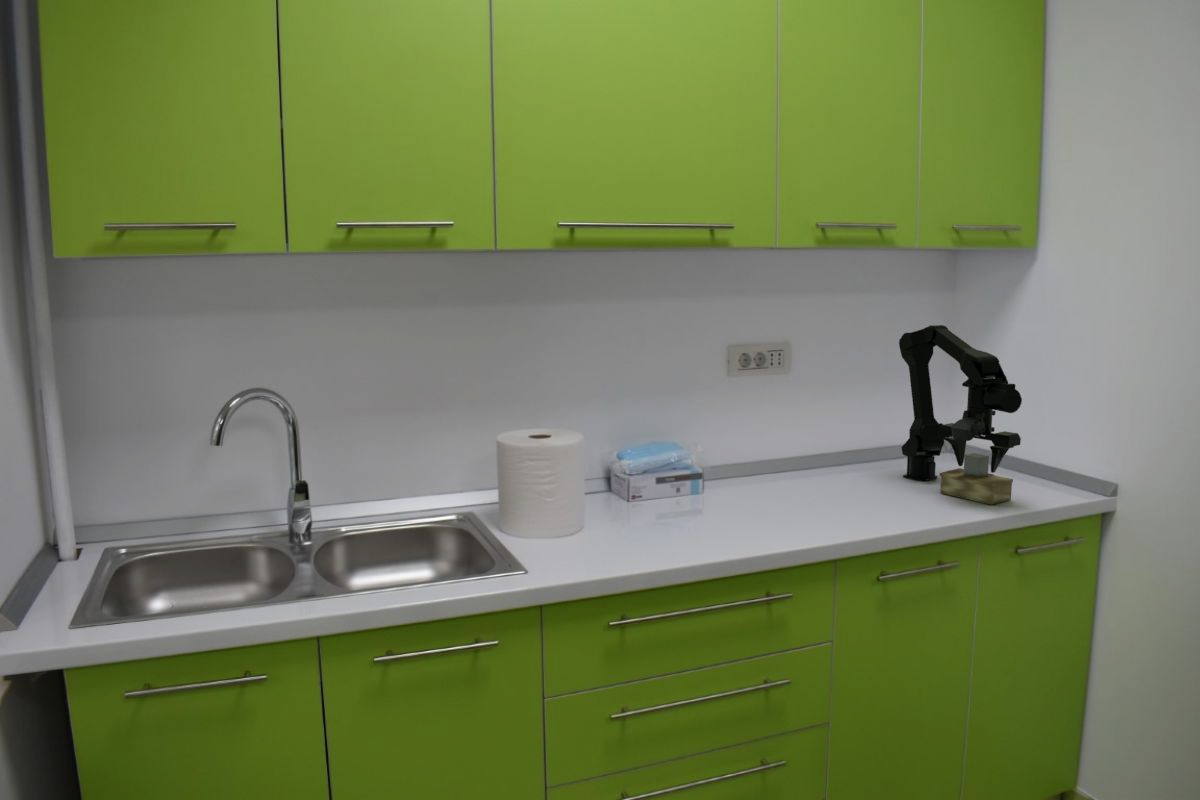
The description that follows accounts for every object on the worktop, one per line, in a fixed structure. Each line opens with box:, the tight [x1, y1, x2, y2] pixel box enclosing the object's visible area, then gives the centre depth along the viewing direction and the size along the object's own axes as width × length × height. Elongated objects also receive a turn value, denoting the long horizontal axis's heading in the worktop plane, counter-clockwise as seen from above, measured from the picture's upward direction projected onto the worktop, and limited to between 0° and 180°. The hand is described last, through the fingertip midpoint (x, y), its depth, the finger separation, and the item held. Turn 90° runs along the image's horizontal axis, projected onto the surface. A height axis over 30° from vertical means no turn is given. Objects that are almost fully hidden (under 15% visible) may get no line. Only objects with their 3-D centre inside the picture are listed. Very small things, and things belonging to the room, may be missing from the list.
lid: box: [939, 467, 1014, 488], centre depth 215 cm, size 14×9×1 cm, turn 35°
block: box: [963, 452, 990, 478], centre depth 215 cm, size 4×4×5 cm
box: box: [939, 476, 1013, 506], centre depth 215 cm, size 14×8×4 cm, turn 35°
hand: (976, 469), depth 215 cm, fingers open, 8 cm apart
